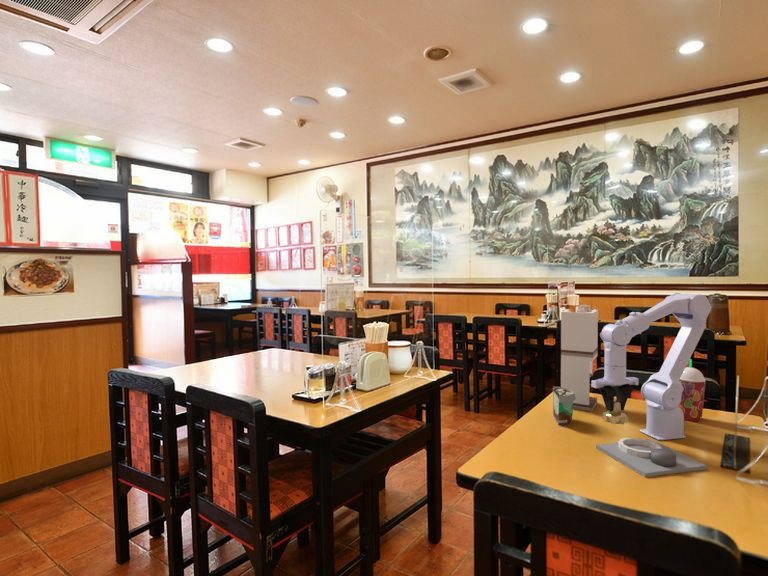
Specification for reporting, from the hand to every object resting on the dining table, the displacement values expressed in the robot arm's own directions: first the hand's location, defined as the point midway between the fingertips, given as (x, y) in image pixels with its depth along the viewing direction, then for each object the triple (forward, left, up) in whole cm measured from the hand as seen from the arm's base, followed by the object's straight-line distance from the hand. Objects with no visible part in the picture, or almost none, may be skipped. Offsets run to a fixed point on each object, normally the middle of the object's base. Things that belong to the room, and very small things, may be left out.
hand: (614, 409), depth 133 cm
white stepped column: (-10, -31, -9) cm, 34 cm away
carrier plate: (+1, +14, -9) cm, 16 cm away
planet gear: (0, 0, -3) cm, 3 cm away
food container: (+5, -17, -9) cm, 20 cm away
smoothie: (-36, -9, -9) cm, 38 cm away
